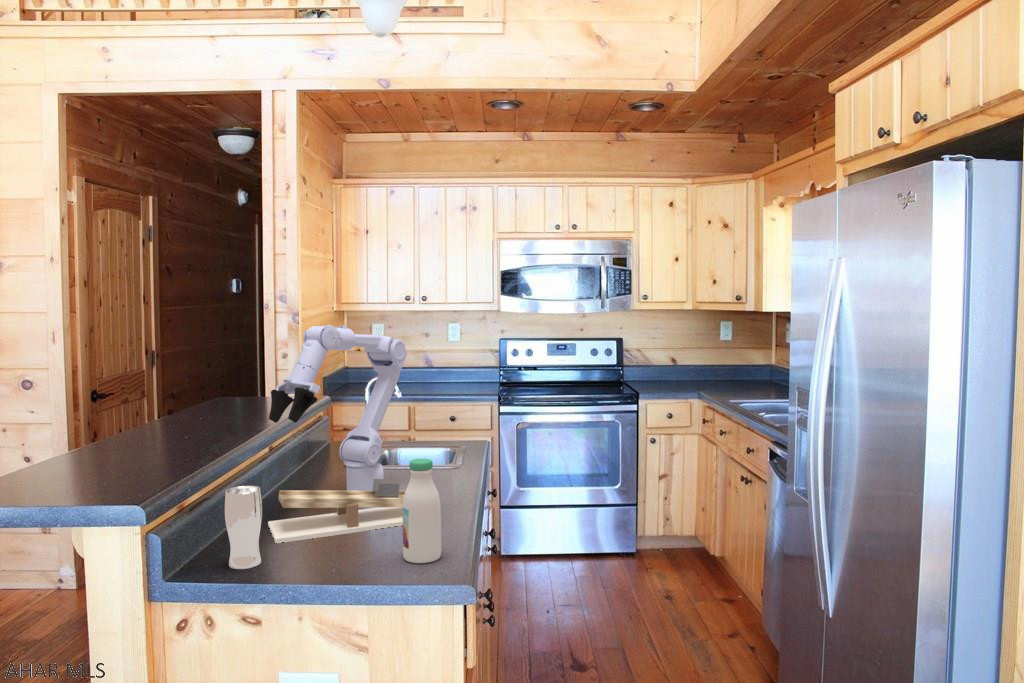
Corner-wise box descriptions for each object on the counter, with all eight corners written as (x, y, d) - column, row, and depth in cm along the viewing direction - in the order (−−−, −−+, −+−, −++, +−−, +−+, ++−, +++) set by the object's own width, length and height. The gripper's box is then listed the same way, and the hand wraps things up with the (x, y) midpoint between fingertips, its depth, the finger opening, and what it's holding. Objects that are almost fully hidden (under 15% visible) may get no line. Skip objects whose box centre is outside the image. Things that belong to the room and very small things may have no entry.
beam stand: (409, 507, 184) (408, 483, 183) (426, 522, 171) (426, 497, 171) (268, 525, 170) (267, 500, 169) (275, 543, 157) (274, 516, 156)
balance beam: (403, 501, 180) (404, 490, 180) (414, 510, 172) (415, 499, 172) (277, 501, 168) (279, 489, 168) (283, 511, 160) (284, 499, 160)
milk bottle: (447, 553, 150) (446, 457, 149) (431, 566, 143) (430, 465, 142) (413, 549, 153) (412, 455, 151) (396, 562, 145) (394, 463, 144)
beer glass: (232, 558, 148) (230, 485, 147) (267, 557, 149) (265, 484, 148) (221, 571, 141) (219, 494, 140) (258, 569, 142) (256, 493, 141)
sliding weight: (392, 495, 177) (393, 479, 177) (397, 500, 173) (399, 483, 172) (372, 495, 175) (373, 478, 175) (377, 500, 170) (378, 483, 170)
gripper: (275, 363, 176) (251, 413, 170) (312, 359, 167) (288, 412, 161) (297, 377, 181) (274, 426, 175) (334, 374, 172) (311, 426, 166)
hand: (282, 420), depth 168 cm, fingers open, 7 cm apart
